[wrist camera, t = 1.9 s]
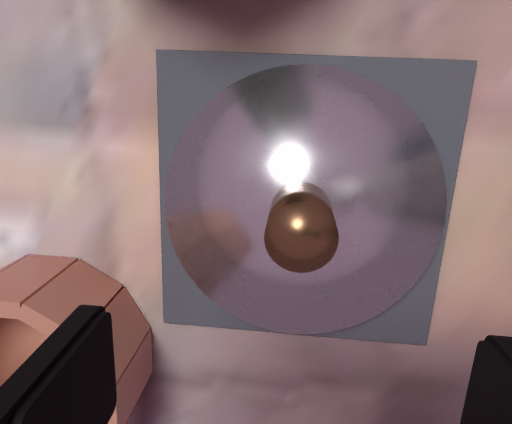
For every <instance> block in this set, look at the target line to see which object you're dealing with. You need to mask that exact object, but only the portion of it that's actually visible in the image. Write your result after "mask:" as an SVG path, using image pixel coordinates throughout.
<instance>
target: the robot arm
mask: <svg viewBox="0 0 512 424" xmlns="http://www.w3.org/2000/svg"><path fill="white" fill-rule="evenodd" d="M116 402H117V391H116V376H115V361H114V346H113V331H112V317H111V314H110V313H109V312H105V308H104V307H103V306H95V305H79V306H78V307H77V308H76V309H75V310H74V311H73V312H72V313H71V314H70V315H69V316H68V317H67V318H66V319H65V320H64V321H63V322H62V323H61V324H60V326H59V327H58V328H57V329H56V330H55V331H54V332H53V333H52V334H51V335H50V336H49V337H48V338H47V339H46V340H45V341H44V342H43V343H42V344H41V345H40V346H39V347H38V348H37V349H36V350H35V351H34V352H33V353H32V354H31V355H30V356H29V357H28V359H27V360H26V361H25V362H24V363H23V364H22V365H21V366H20V367H19V368H18V369H17V370H16V371H15V372H14V373H13V374H12V375H11V376H10V377H9V378H8V379H7V380H6V381H5V382H4V383H3V384H2V385H1V386H0V424H108V422H109V420H110V418H111V417H112V415H113V413H114V410H115V407H116ZM460 424H512V337H506V336H493V335H489V336H487V337H486V338H485V340H484V341H479V343H478V345H477V348H476V353H475V357H474V362H473V367H472V371H471V376H470V380H469V385H468V390H467V394H466V399H465V403H464V408H463V412H462V417H461V422H460Z"/></svg>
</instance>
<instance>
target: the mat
mask: <svg viewBox="0 0 512 424" xmlns="http://www.w3.org/2000/svg"><path fill="white" fill-rule="evenodd" d="M298 64H316V65H325V66H333V67H337V68H341V69H345V70H349V71H352V72H355V73H357V74H360V75H362V76H365V77H367V78H370V79H372V80H373V81H375V82H377V83H379V84H380V85H382V86H384V87H385V88H387V89H389V90H390V91H391V92H392V93H394V94H395V95H396V96H397V97H399V98H400V99H401V100H403V101H404V102H405V103H406V105H407V106H408V107H409V108H410V109H411V110H412V111H413V112H414V113H415V114H416V115H417V116H418V118H419V119H420V121H421V122H422V123H423V125H424V126H425V128H426V129H427V130H428V132H429V134H430V136H431V138H432V140H433V142H434V144H435V146H436V148H437V151H438V154H439V157H440V160H441V163H442V166H443V171H444V176H445V181H446V196H447V205H446V215H445V223H444V227H443V231H442V235H441V239H440V241H439V244H438V246H437V249H436V251H435V254H434V256H433V258H432V259H431V261H430V263H429V265H428V267H427V268H426V270H425V272H424V273H423V274H422V276H421V277H420V278H419V280H418V281H417V282H416V284H415V285H414V286H413V287H412V288H411V289H410V290H409V291H408V292H407V293H406V294H405V295H404V296H403V297H402V298H401V299H400V300H398V301H397V302H396V303H395V304H393V305H392V306H391V307H390V308H388V309H387V310H385V311H383V312H382V313H380V314H379V315H377V316H375V317H373V318H371V319H369V320H367V321H365V322H363V323H360V324H358V325H355V326H352V327H349V328H346V329H343V330H338V331H333V332H328V333H320V334H300V335H312V336H323V337H335V338H346V339H357V340H369V341H380V342H392V343H403V344H415V345H426V344H427V338H428V333H429V327H430V321H431V316H432V310H433V305H434V299H435V294H436V288H437V282H438V277H439V271H440V266H441V260H442V255H443V249H444V243H445V238H446V232H447V227H448V221H449V216H450V210H451V204H452V199H453V193H454V188H455V182H456V177H457V171H458V165H459V160H460V154H461V149H462V143H463V138H464V132H465V126H466V121H467V115H468V110H469V104H470V99H471V93H472V87H473V82H474V76H475V71H476V65H477V61H475V60H446V59H417V58H388V57H359V56H330V55H301V54H272V53H243V52H214V51H185V50H156V65H157V101H158V138H159V174H160V210H161V246H162V282H163V319H164V323H174V324H186V325H197V326H209V327H220V328H232V329H243V330H255V331H266V332H276V331H272V330H268V329H264V328H260V327H258V326H255V325H252V324H250V323H247V322H245V321H243V320H241V319H239V318H237V317H235V316H233V315H231V314H230V313H228V312H227V311H225V310H224V309H222V308H221V307H219V306H218V305H217V304H215V303H214V302H213V301H212V300H211V299H210V298H208V297H207V296H206V295H205V294H204V293H203V292H202V291H201V290H200V289H199V287H198V286H197V285H196V284H195V283H194V282H193V281H192V279H191V278H190V276H189V275H188V273H187V272H186V271H185V269H184V268H183V266H182V264H181V262H180V260H179V258H178V256H177V254H176V252H175V250H174V247H173V244H172V242H171V239H170V236H169V231H168V227H167V223H166V215H165V204H164V201H165V184H166V178H167V172H168V168H169V164H170V161H171V158H172V155H173V152H174V150H175V148H176V146H177V143H178V141H179V139H180V137H181V135H182V134H183V132H184V131H185V129H186V128H187V126H188V124H189V123H190V121H191V120H192V119H193V118H194V117H195V115H196V114H197V113H198V112H199V111H200V110H201V108H202V107H203V106H204V105H205V104H207V103H208V102H209V101H210V100H211V99H212V98H213V97H215V96H216V95H217V94H218V93H219V92H221V91H222V90H224V89H226V88H227V87H229V86H230V85H232V84H233V83H235V82H237V81H239V80H241V79H243V78H245V77H247V76H249V75H252V74H254V73H258V72H261V71H264V70H267V69H270V68H275V67H281V66H287V65H298ZM277 333H282V332H277Z"/></svg>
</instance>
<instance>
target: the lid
mask: <svg viewBox="0 0 512 424" xmlns="http://www.w3.org/2000/svg"><path fill="white" fill-rule="evenodd" d="M164 204H165V215H166V223H167V227H168V231H169V236H170V239H171V242H172V244H173V247H174V250H175V252H176V254H177V256H178V258H179V260H180V262H181V264H182V266H183V268H184V269H185V271H186V272H187V273H188V275H189V276H190V278H191V279H192V281H193V282H194V283H195V284H196V285H197V286H198V287H199V289H200V290H201V291H202V292H203V293H204V294H205V295H206V296H207V297H208V298H210V299H211V300H212V301H213V302H214V303H215V304H217V305H218V306H219V307H221V308H222V309H224V310H225V311H227V312H228V313H230V314H231V315H233V316H235V317H237V318H239V319H241V320H243V321H245V322H247V323H250V324H252V325H255V326H258V327H260V328H264V329H268V330H272V331H276V332H282V333H289V334H320V333H328V332H333V331H338V330H343V329H346V328H349V327H352V326H355V325H358V324H360V323H363V322H365V321H367V320H369V319H371V318H373V317H375V316H377V315H379V314H380V313H382V312H383V311H385V310H387V309H388V308H390V307H391V306H392V305H393V304H395V303H396V302H397V301H398V300H400V299H401V298H402V297H403V296H404V295H405V294H406V293H407V292H408V291H409V290H410V289H411V288H412V287H413V286H414V285H415V284H416V282H417V281H418V280H419V278H420V277H421V276H422V274H423V273H424V272H425V270H426V268H427V267H428V265H429V263H430V261H431V259H432V258H433V256H434V254H435V251H436V249H437V246H438V244H439V241H440V239H441V235H442V231H443V227H444V223H445V215H446V205H447V196H446V181H445V176H444V171H443V166H442V163H441V160H440V157H439V154H438V151H437V148H436V146H435V144H434V142H433V140H432V138H431V136H430V134H429V132H428V130H427V129H426V128H425V126H424V125H423V123H422V122H421V121H420V119H419V118H418V116H417V115H416V114H415V113H414V112H413V111H412V110H411V109H410V108H409V107H408V106H407V105H406V103H405V102H404V101H403V100H401V99H400V98H399V97H397V96H396V95H395V94H394V93H392V92H391V91H390V90H389V89H387V88H385V87H384V86H382V85H380V84H379V83H377V82H375V81H373V80H372V79H370V78H367V77H365V76H362V75H360V74H357V73H355V72H352V71H349V70H345V69H341V68H337V67H333V66H325V65H316V64H298V65H287V66H281V67H275V68H270V69H267V70H264V71H261V72H258V73H254V74H252V75H249V76H247V77H245V78H243V79H241V80H239V81H237V82H235V83H233V84H232V85H230V86H229V87H227V88H226V89H224V90H222V91H221V92H219V93H218V94H217V95H216V96H215V97H213V98H212V99H211V100H210V101H209V102H208V103H207V104H205V105H204V106H203V107H202V108H201V110H200V111H199V112H198V113H197V114H196V115H195V117H194V118H193V119H192V120H191V121H190V123H189V124H188V126H187V128H186V129H185V131H184V132H183V134H182V135H181V137H180V139H179V141H178V143H177V146H176V148H175V150H174V152H173V155H172V158H171V161H170V164H169V168H168V172H167V178H166V184H165V201H164Z"/></svg>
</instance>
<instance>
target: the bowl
mask: <svg viewBox="0 0 512 424" xmlns="http://www.w3.org/2000/svg"><path fill="white" fill-rule="evenodd" d="M122 286H123V285H122V284H120V283H119V282H117V281H115V280H114V279H112V278H110V277H109V276H107V275H105V274H104V273H102V272H100V271H99V270H97V269H95V268H94V267H92V266H91V265H89V264H87V263H86V262H84V261H82V260H81V259H79V260H78V261H77V258H69V257H56V256H43V255H30V254H29V255H28V256H27V255H26V256H24V257H22V258H20V259H18V260H16V261H14V262H13V263H11V264H9V265H7V266H5V267H3V268H1V269H0V386H1V385H2V384H3V383H4V382H5V381H6V380H7V379H8V378H9V377H10V376H11V375H12V374H13V373H14V372H15V371H16V370H17V369H18V368H19V367H20V366H21V365H22V364H23V363H24V362H25V361H26V360H27V359H28V357H29V356H30V355H31V354H32V353H33V352H34V351H35V350H36V349H37V348H38V347H39V346H40V345H41V344H42V343H43V342H44V341H45V340H46V339H47V338H48V337H49V336H50V335H51V334H52V333H53V332H54V331H55V330H56V329H57V328H58V327H59V326H60V324H61V323H62V322H63V321H64V320H65V319H66V318H67V317H68V316H69V315H70V314H71V313H72V312H73V311H74V310H75V309H76V308H77V307H78V306H79V305H95V306H103V307H104V308H105V312H109V313H110V314H111V317H112V331H113V346H114V361H115V376H116V391H117V402H116V407H115V410H114V413H113V415H112V417H111V418H110V420H109V422H108V424H126V423H127V421H128V419H129V417H130V415H131V413H132V411H133V409H134V407H135V405H136V403H137V401H138V399H139V397H140V395H141V393H142V391H143V390H144V388H145V386H146V384H147V382H148V380H149V378H150V376H151V374H152V371H153V360H152V333H151V329H150V325H149V324H148V322H147V320H146V319H145V317H144V316H143V314H142V313H141V311H140V310H139V308H138V306H137V305H136V303H135V302H134V300H133V299H132V297H131V296H130V294H129V292H128V291H127V289H126V288H125V287H124V288H122ZM121 288H122V289H121Z"/></svg>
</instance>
